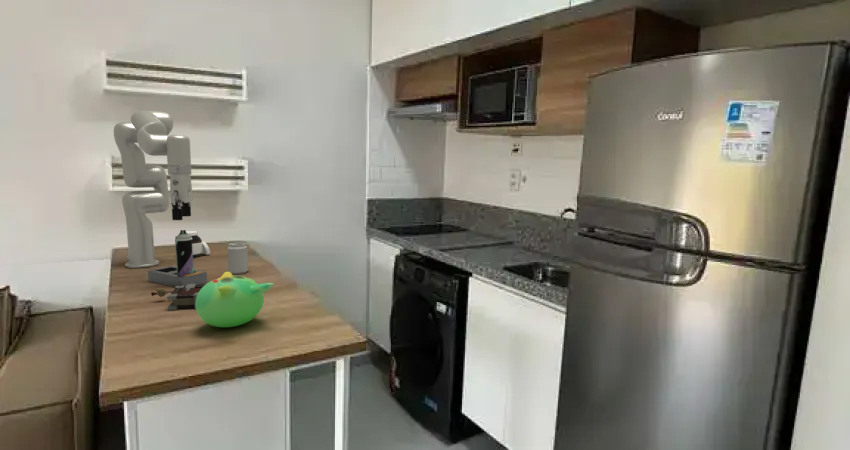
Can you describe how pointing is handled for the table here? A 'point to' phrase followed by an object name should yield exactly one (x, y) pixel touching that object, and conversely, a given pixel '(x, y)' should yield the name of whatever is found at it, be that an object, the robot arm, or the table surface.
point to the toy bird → (230, 300)
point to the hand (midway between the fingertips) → (182, 218)
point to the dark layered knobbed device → (181, 295)
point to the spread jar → (198, 244)
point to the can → (237, 258)
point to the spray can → (184, 253)
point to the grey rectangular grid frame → (176, 277)
